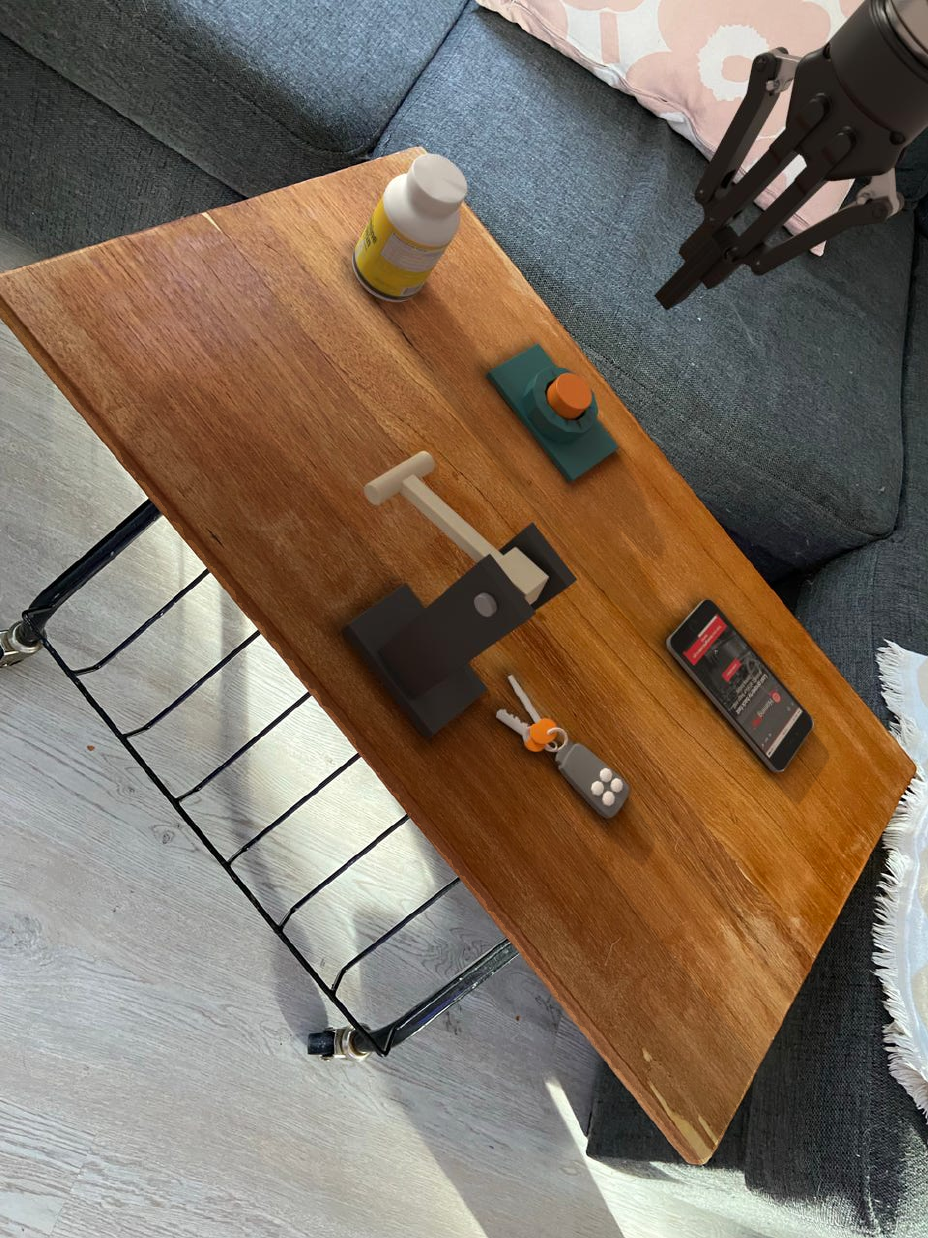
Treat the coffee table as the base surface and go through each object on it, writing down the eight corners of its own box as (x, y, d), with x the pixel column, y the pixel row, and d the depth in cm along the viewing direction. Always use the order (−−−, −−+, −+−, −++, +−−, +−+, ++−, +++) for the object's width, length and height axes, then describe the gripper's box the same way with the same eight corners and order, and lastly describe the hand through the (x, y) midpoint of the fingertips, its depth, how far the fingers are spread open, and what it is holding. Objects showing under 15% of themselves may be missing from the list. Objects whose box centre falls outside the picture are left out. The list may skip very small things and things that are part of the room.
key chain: (626, 787, 77) (637, 784, 76) (604, 823, 75) (615, 820, 74) (508, 675, 76) (517, 669, 75) (482, 708, 74) (491, 702, 73)
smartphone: (708, 595, 87) (816, 722, 87) (703, 598, 88) (811, 725, 88) (666, 642, 83) (780, 775, 83) (661, 644, 84) (774, 777, 84)
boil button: (538, 392, 85) (548, 381, 83) (563, 377, 87) (574, 366, 85) (564, 425, 85) (574, 415, 83) (588, 409, 87) (599, 399, 85)
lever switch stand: (340, 630, 71) (443, 526, 56) (398, 590, 74) (510, 481, 59) (425, 740, 71) (550, 664, 56) (479, 694, 74) (611, 612, 59)
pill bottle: (378, 230, 86) (432, 130, 76) (432, 283, 87) (493, 190, 77) (334, 264, 82) (385, 163, 73) (391, 318, 83) (449, 226, 73)
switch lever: (360, 500, 61) (367, 474, 59) (415, 466, 64) (423, 440, 62) (499, 629, 58) (511, 606, 56) (551, 588, 61) (563, 565, 59)
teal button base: (485, 375, 86) (498, 359, 84) (534, 347, 90) (548, 330, 87) (569, 484, 86) (584, 470, 83) (615, 450, 89) (631, 437, 87)
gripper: (825, -55, 52) (586, 243, 71) (978, 139, 52) (697, 384, 71) (885, -72, 56) (644, 214, 76) (1027, 107, 56) (748, 347, 75)
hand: (670, 296), depth 73 cm, fingers closed
